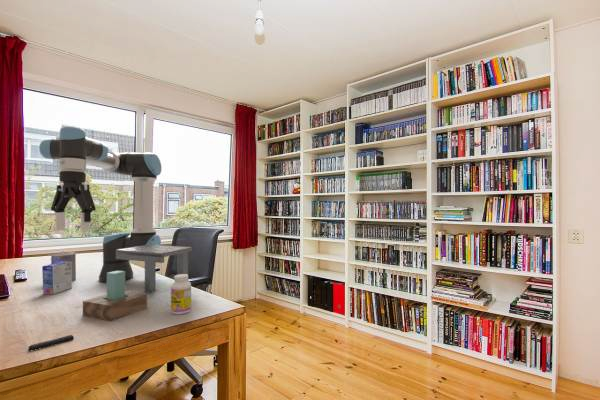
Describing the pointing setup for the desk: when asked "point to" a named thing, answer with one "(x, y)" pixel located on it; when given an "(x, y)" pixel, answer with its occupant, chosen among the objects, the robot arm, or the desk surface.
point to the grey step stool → (155, 260)
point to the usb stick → (51, 342)
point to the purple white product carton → (67, 260)
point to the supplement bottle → (180, 295)
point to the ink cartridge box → (57, 276)
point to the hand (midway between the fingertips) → (72, 231)
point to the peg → (115, 285)
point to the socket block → (114, 306)
